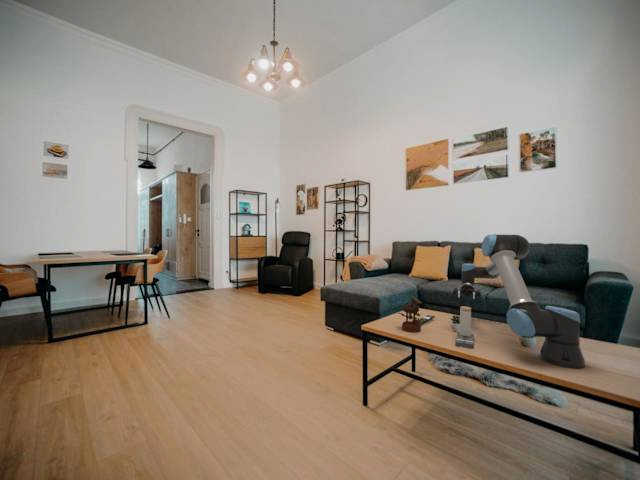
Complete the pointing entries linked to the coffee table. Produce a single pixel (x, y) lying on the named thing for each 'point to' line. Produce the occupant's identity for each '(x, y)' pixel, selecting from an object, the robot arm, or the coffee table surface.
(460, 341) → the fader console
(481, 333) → the coffee table surface
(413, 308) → the music box
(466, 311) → the grey tall cylinder
